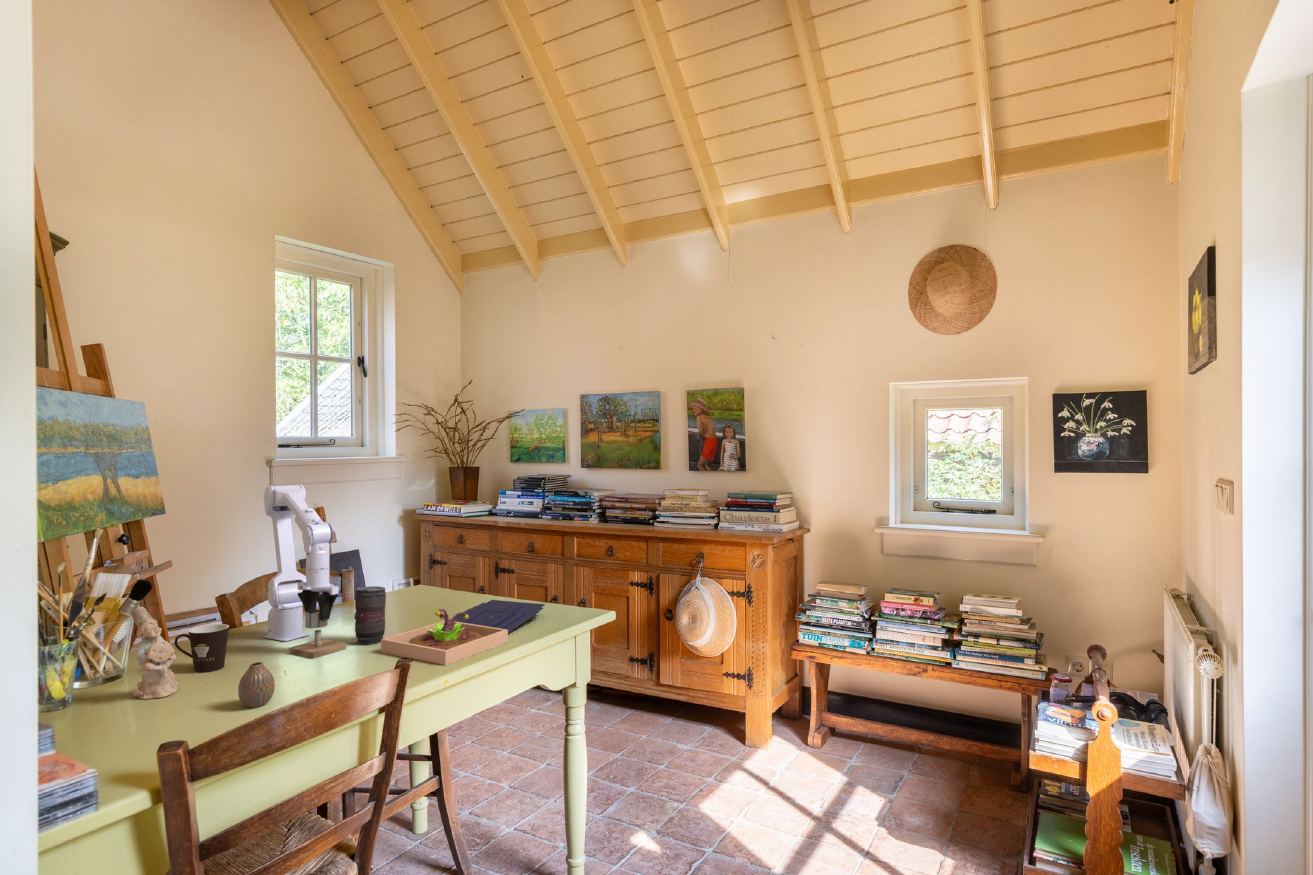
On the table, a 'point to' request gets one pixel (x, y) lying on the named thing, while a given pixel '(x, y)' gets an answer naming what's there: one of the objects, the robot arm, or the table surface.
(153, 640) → the figurine
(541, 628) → the table surface
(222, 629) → the coffee mug
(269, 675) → the vase
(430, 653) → the tan flat square tray
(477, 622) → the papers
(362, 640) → the camera lens
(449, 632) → the plant
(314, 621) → the ring
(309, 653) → the shaft stand
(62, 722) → the table surface
